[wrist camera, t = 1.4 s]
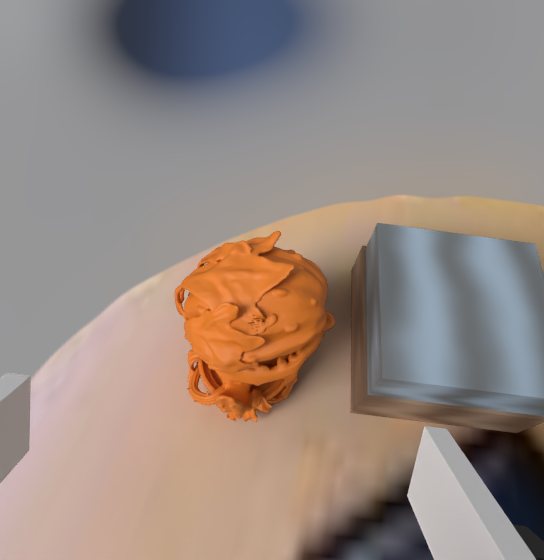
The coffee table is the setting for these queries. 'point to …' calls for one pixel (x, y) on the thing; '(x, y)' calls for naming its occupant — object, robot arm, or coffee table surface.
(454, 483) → the robot arm
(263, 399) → the orange figurine
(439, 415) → the grey square block
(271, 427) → the coffee table surface
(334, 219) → the coffee table surface
